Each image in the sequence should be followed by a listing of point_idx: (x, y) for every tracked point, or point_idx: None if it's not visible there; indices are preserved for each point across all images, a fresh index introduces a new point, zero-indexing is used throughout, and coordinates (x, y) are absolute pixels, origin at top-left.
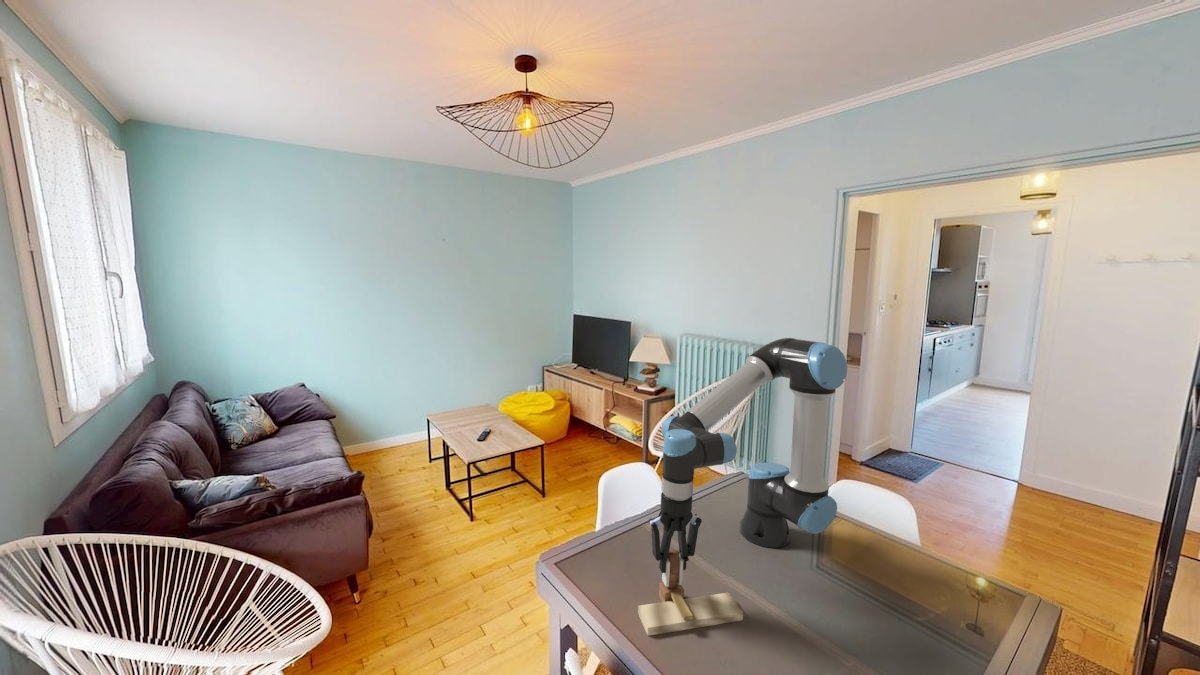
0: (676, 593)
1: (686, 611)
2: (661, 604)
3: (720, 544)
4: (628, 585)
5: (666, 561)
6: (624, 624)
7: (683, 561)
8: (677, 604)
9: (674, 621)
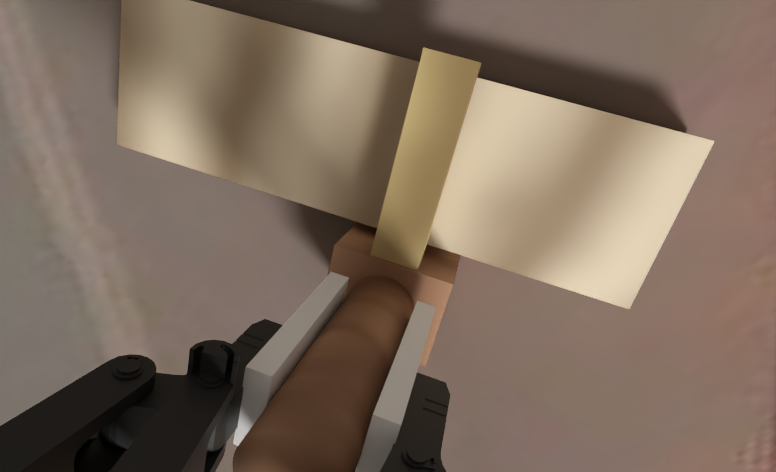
0: (391, 249)
1: (436, 95)
2: (498, 250)
3: (9, 404)
4: (522, 447)
5: (403, 438)
6: (740, 266)
7: (244, 366)
8: (446, 175)
9: (523, 106)
